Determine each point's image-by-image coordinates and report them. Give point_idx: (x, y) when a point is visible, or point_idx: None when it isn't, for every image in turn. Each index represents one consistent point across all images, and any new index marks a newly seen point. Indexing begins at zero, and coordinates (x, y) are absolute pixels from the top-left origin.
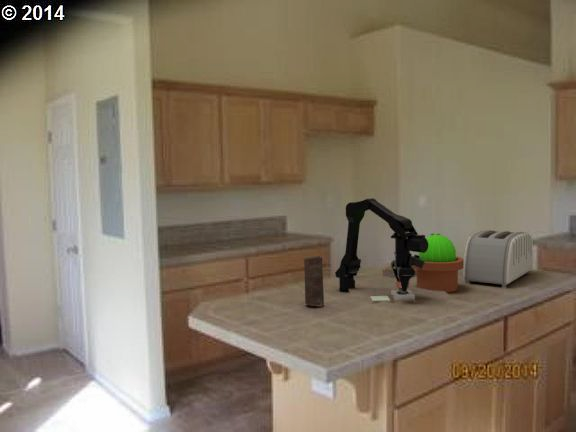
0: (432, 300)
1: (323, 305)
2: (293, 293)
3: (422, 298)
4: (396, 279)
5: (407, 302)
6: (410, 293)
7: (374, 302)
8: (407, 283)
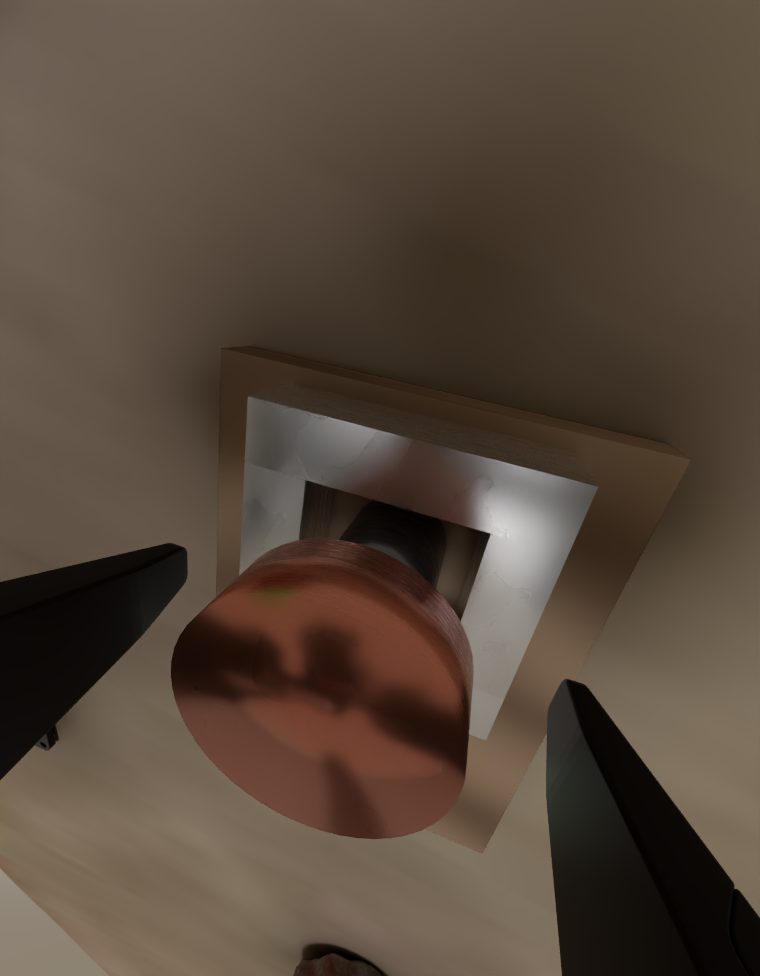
0: (424, 30)
1: (372, 974)
2: (100, 896)
3: (277, 175)
4: (74, 686)
5: (614, 582)
6: (476, 510)
7: (466, 823)
8: (736, 916)
